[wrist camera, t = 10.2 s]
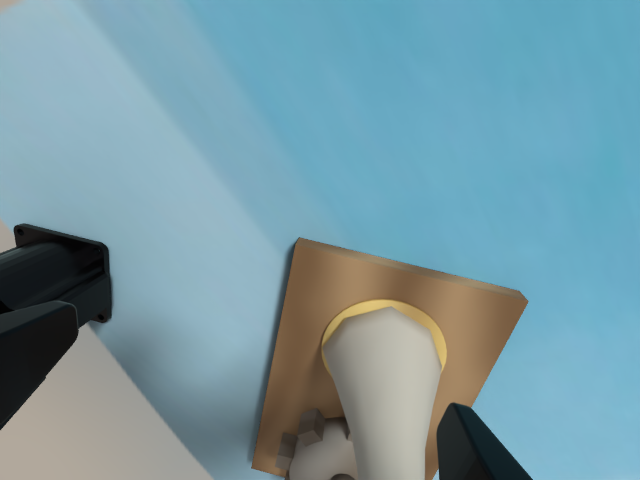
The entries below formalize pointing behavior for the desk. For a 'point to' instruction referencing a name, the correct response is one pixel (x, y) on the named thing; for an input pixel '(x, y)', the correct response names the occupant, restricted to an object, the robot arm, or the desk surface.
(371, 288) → the gear board
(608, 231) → the desk surface
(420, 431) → the flask
